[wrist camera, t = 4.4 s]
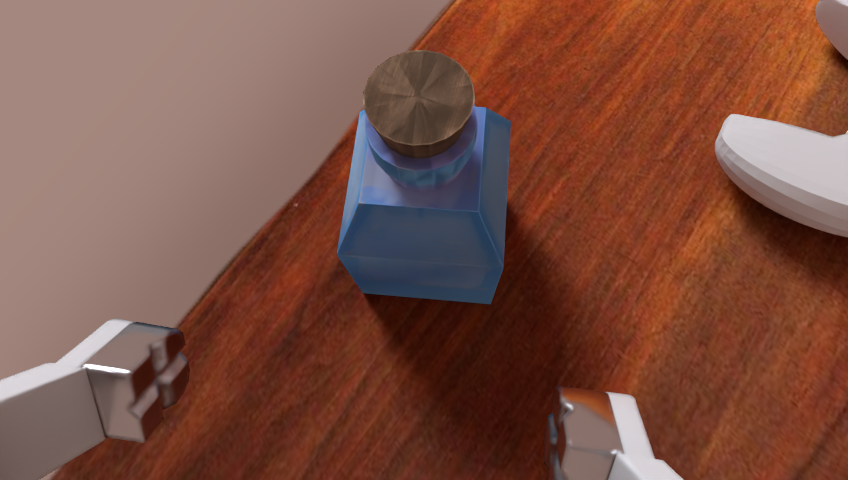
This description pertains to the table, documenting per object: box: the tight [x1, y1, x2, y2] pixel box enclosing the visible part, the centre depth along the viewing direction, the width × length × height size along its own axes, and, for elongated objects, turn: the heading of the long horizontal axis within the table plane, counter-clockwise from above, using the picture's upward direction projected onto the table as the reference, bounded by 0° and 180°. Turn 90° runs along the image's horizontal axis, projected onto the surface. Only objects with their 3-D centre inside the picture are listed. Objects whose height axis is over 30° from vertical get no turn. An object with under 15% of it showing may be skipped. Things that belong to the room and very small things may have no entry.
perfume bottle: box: [337, 50, 511, 304], centre depth 20 cm, size 6×6×12 cm
